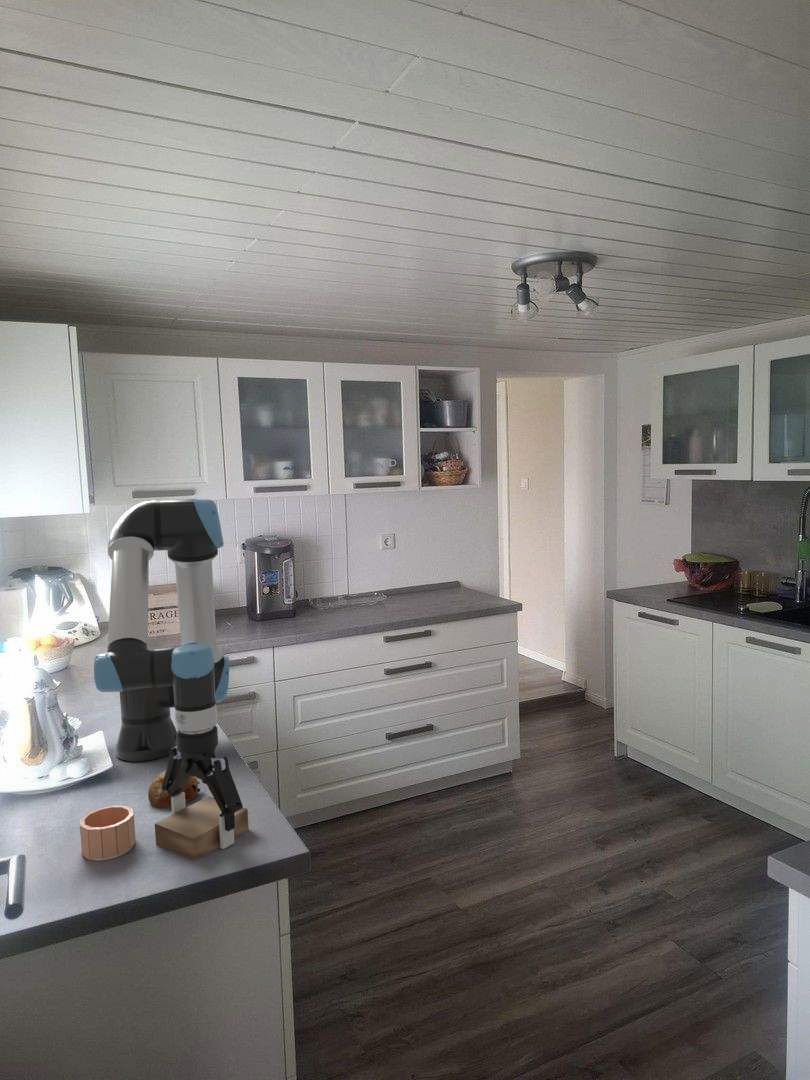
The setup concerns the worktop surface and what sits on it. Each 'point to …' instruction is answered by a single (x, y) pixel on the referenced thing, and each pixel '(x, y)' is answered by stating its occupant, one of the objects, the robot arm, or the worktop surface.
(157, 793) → the bread roll
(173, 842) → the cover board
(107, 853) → the wooden tub
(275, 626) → the worktop surface
